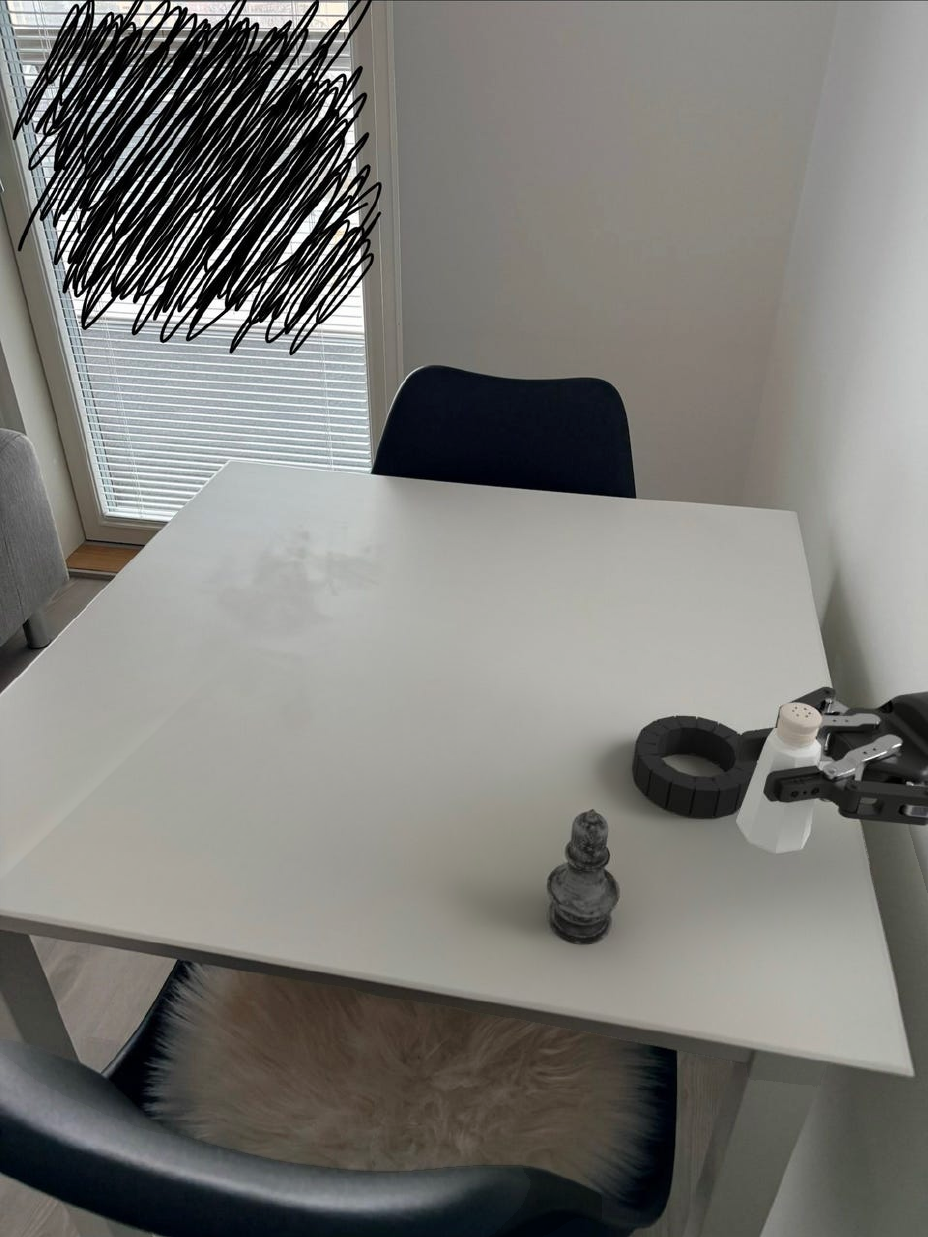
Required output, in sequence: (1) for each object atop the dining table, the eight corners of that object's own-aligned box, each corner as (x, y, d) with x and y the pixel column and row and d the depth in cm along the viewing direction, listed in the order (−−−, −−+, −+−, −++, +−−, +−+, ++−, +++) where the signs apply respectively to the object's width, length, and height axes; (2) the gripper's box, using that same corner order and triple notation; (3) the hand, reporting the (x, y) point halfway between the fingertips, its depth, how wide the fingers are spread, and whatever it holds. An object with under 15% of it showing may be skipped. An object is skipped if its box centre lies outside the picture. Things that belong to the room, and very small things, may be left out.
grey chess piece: (536, 936, 71) (545, 826, 65) (553, 883, 76) (563, 776, 69) (608, 956, 69) (624, 845, 63) (620, 900, 74) (637, 793, 68)
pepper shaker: (736, 848, 65) (763, 729, 59) (734, 799, 69) (758, 685, 64) (813, 861, 64) (848, 741, 58) (805, 810, 68) (837, 695, 63)
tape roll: (772, 781, 87) (779, 754, 86) (706, 836, 81) (712, 808, 79) (677, 728, 95) (682, 702, 93) (609, 774, 88) (612, 747, 86)
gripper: (914, 646, 70) (715, 670, 67) (1052, 758, 58) (818, 794, 55) (890, 721, 74) (701, 747, 71) (1015, 841, 62) (794, 879, 59)
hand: (753, 767), depth 63 cm, fingers closed on pepper shaker, 3 cm apart
